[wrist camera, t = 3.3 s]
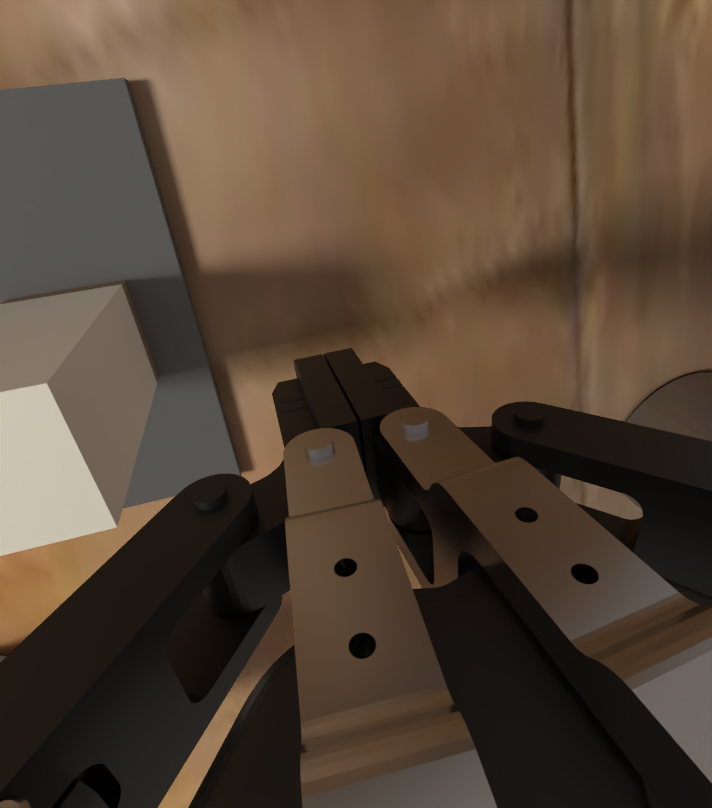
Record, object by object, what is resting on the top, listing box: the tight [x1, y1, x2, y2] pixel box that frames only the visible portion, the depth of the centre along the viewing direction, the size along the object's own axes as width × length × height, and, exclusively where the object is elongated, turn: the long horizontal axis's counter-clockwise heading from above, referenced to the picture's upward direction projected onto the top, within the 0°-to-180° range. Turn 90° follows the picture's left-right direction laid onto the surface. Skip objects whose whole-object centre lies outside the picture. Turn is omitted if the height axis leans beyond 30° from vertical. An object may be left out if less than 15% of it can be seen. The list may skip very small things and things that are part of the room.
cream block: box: [0, 280, 159, 556], centre depth 14 cm, size 4×4×9 cm
